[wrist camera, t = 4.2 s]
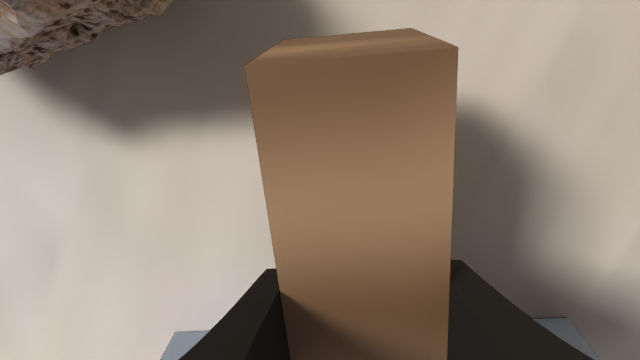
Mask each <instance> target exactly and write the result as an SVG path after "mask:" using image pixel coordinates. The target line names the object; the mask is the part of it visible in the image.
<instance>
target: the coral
mask: <svg viewBox="0 0 640 360" xmlns="http://www.w3.org/2000/svg"><path fill="white" fill-rule="evenodd" d="M172 1H173V0H0V75H1V74H4V73H7V72H10V71H13V70H15V69H18V68H21V67H29V68H34V67H36V66H39V65H41V64H44V63H45V62H46V61H47V60H48V59H49V58H50V57H51V56H52V55H53V54H54V53H55V52H57V51H62V50H67V49H73V48H76V47H78V46H81V45H83V44H86V43H92V42H93V40H94V39H95V37H96V36H97V34H98V33H100V32H103V31H105V30H106V29H107V28H109V27H110V26H121V25H123V24H128V23H131V22H135V21H138V20H141V19H144V18H145V17H146V16H147V15H148V14H151V15H161V14H162V13H163V12H164V11H165V10H166V8H167V7H168V6H169V5H170V4H171V2H172Z"/></svg>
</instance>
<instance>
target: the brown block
mask: <svg viewBox="0 0 640 360" xmlns="http://www.w3.org/2000/svg"><path fill="white" fill-rule="evenodd" d="M457 68H458V47H457V46H454V45H452V44H449V43H447V42H445V41H442V40H440V39H437V38H435V37H432V36H430V35H427V34H425V33H422V32H420V31H417V30H415V29H412V28H407V29H396V30H385V31H374V32H363V33H352V34H341V35H331V36H320V37H309V38H298V39H287V40H282V41H281V42H279V43H278V44H276V45H275V46H273V47H272V48H270V49H269V50H267V51H266V52H264V53H263V54H261V55H260V56H258V57H257V58H255V59H254V60H252V61H251V62H249V63H248V64H246V65H245V72H246V79H247V85H248V91H249V98H250V104H251V110H252V117H253V123H254V130H255V136H256V142H257V149H258V155H259V161H260V168H261V174H262V181H263V187H264V193H265V200H266V206H267V212H268V219H269V225H270V232H271V238H272V244H273V251H274V257H275V263H276V270H277V276H278V283H279V289H280V295H281V302H282V308H283V314H284V321H285V327H286V334H287V340H288V346H289V353H290V359H291V360H447V346H448V318H449V291H450V263H451V235H452V207H453V180H454V152H455V124H456V96H457Z"/></svg>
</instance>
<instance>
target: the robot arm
mask: <svg viewBox="0 0 640 360" xmlns="http://www.w3.org/2000/svg"><path fill="white" fill-rule="evenodd" d="M178 360H291V359H290V353H289V346H288V340H287V334H286V327H285V321H284V314H283V308H282V302H281V295H280V289H279V283H278V276H277V270H276V269H266V270H265V271H264V273H263V274H262V275H261V276H260V277H259V278H258V279H257V280H256V281H255V282H254V284H253V285H252V286H251V287H250V288H249V289H248V291H247V292H246V293H245V294H244V295H243V296H242V297H241V298H240V300H239V301H238V302H237V303H236V304H235V305H234V306H233V307H232V308H231V309H230V310H229V312H228V313H227V314H226V315H225V316H224V317H223V318H222V319H221V320H220V321H219V322H218V323H217V324H216V325H215V326H214V327H213V328H212V329H211V330H210V331H209V332H208V333H207V334H206V335H205V336H204V337H203V338H202V339H201V340H200V341H199V342H198V343H197V344H196V345H194V346H193V347H192V348H191V349H190V350H189V351H188V352H187V353H185V354H184V355H183V356H182V357H181V358H180V359H178ZM447 360H594V359H592V358H591V357H589V356H587V355H586V354H584V353H582V352H581V351H579V350H578V349H576V348H574V347H573V346H571V345H570V344H568V343H567V342H565V341H564V340H562V339H560V338H559V337H557V336H556V335H555V334H553V333H552V332H550V331H549V330H548V329H546V328H545V327H543V326H542V325H540V324H539V323H538V322H536V321H535V320H533V319H532V318H531V317H529V316H528V315H527V314H525V313H524V312H523V311H521V310H520V309H519V308H518V307H516V306H515V305H514V304H512V303H511V302H510V301H509V300H507V299H506V298H505V297H504V296H502V295H501V294H500V293H499V292H498V291H496V290H495V289H494V288H493V287H492V286H490V285H489V284H488V283H487V282H486V281H484V280H483V279H482V278H481V277H480V276H479V275H477V274H476V273H475V272H474V271H473V270H472V269H471V268H469V267H468V266H467V265H466V264H465V263H464V262H462V261H461V260H451V263H450V291H449V318H448V346H447Z"/></svg>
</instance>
